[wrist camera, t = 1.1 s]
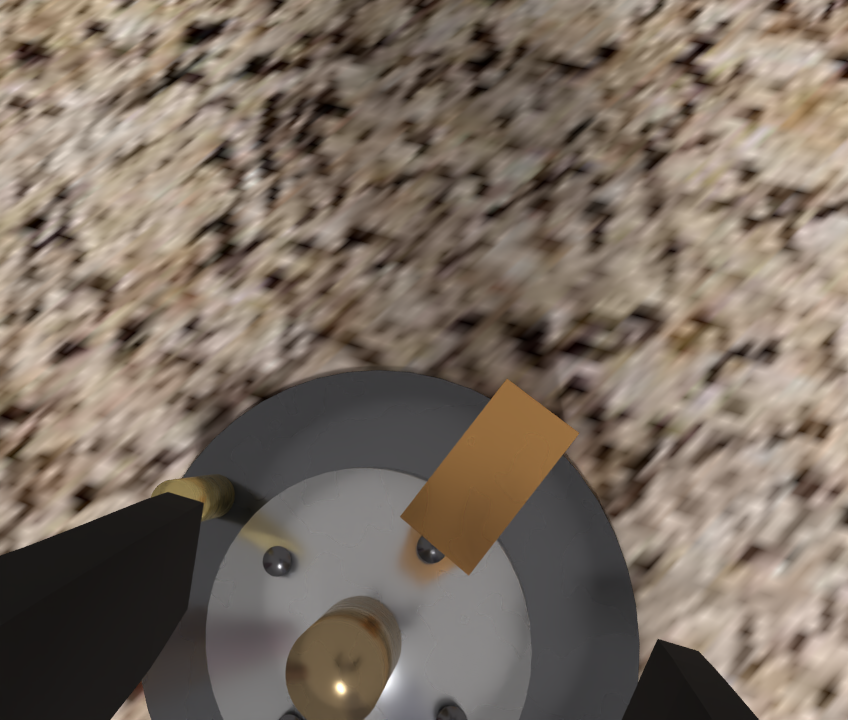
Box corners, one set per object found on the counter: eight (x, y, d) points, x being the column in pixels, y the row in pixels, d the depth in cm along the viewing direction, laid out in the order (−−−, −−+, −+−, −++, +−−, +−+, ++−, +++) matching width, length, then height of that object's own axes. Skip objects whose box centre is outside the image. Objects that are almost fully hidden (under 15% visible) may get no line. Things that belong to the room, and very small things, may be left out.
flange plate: (672, 514, 19) (713, 534, 15) (393, 874, 19) (362, 987, 15) (415, 319, 21) (393, 292, 17) (165, 641, 21) (86, 687, 17)
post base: (753, 595, 19) (827, 645, 14) (412, 1038, 19) (380, 1224, 14) (339, 277, 22) (296, 238, 18) (51, 647, 22) (-64, 699, 18)
